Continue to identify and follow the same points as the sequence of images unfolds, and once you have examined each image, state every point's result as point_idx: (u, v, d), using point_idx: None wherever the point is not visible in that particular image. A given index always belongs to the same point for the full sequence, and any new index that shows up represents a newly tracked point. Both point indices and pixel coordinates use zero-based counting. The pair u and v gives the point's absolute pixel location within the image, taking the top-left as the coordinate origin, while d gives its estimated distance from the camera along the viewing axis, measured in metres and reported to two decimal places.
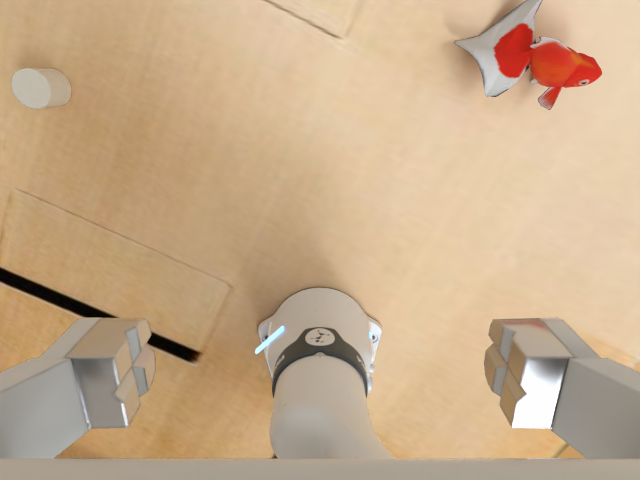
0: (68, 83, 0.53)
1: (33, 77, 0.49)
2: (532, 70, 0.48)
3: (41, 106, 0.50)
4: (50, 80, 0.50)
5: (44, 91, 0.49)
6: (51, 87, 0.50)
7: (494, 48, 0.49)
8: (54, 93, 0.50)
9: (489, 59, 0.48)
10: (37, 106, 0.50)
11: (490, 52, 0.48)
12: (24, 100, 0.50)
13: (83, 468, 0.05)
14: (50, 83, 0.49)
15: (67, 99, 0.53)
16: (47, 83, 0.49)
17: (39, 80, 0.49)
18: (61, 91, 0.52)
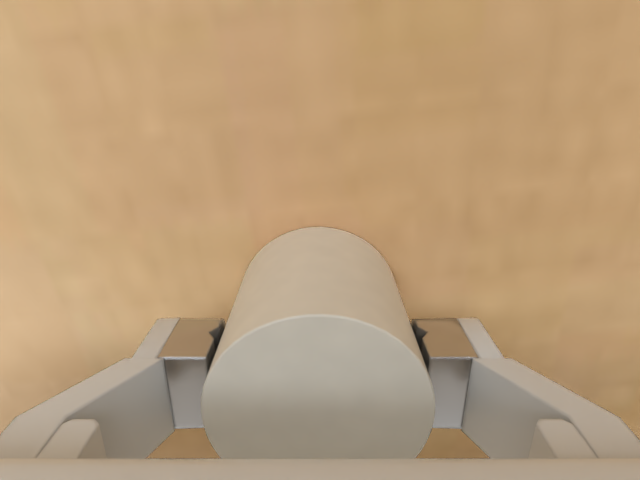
0: (258, 254, 0.11)
1: (247, 423, 0.08)
2: None
3: (387, 341, 0.07)
4: (222, 339, 0.08)
5: (284, 356, 0.08)
6: (243, 326, 0.08)
7: None
8: (278, 298, 0.08)
9: None
10: (401, 359, 0.08)
11: None
12: (405, 425, 0.08)
13: (83, 468, 0.05)
14: (228, 338, 0.08)
15: (327, 233, 0.11)
16: (227, 354, 0.08)
17: (242, 395, 0.08)
18: (279, 268, 0.09)
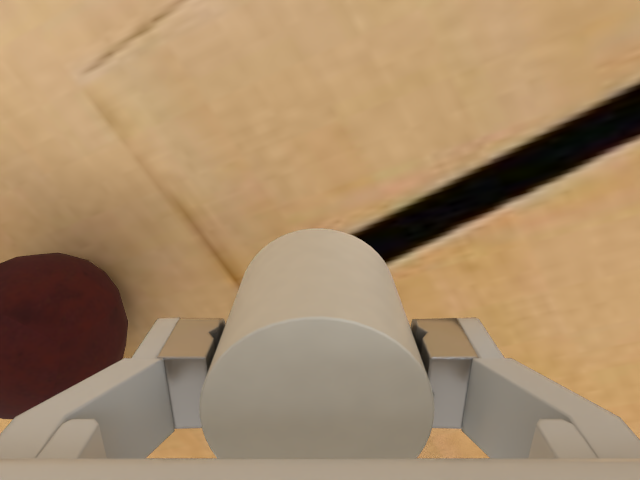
0: (257, 256, 0.11)
1: (246, 426, 0.08)
2: None
3: (387, 343, 0.07)
4: (221, 341, 0.08)
5: (283, 359, 0.08)
6: (243, 329, 0.08)
7: None
8: (276, 300, 0.08)
9: None
10: (400, 362, 0.08)
11: None
12: (404, 428, 0.08)
13: (83, 467, 0.05)
14: (226, 340, 0.08)
15: (326, 235, 0.11)
16: (225, 356, 0.08)
17: (241, 397, 0.08)
18: (278, 270, 0.09)
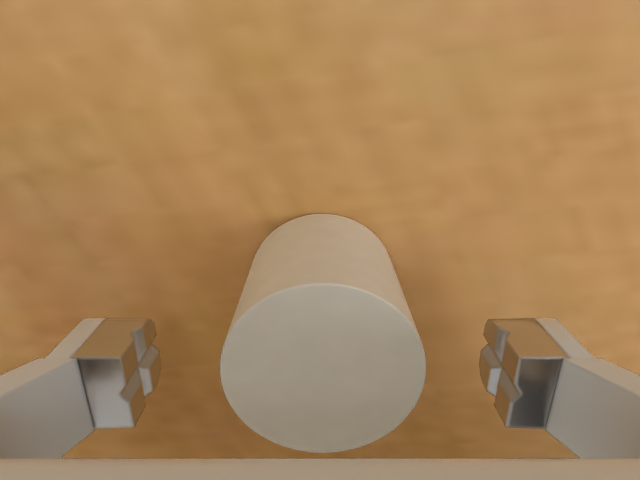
0: (267, 239, 0.12)
1: (260, 382, 0.09)
2: None
3: (384, 307, 0.09)
4: (238, 309, 0.09)
5: (294, 321, 0.09)
6: (258, 295, 0.09)
7: None
8: (287, 271, 0.09)
9: None
10: (395, 324, 0.09)
11: None
12: (400, 384, 0.09)
13: (83, 468, 0.05)
14: (243, 306, 0.09)
15: (330, 219, 0.12)
16: (243, 318, 0.09)
17: (256, 356, 0.09)
18: (287, 248, 0.11)
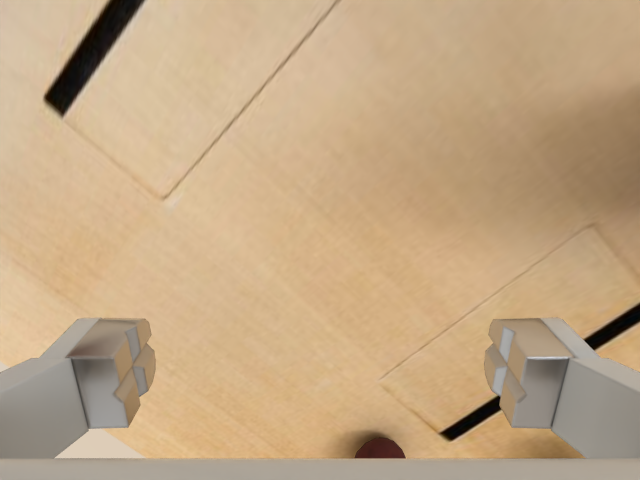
0: None
1: None
2: None
3: None
4: None
5: None
6: None
7: None
8: None
9: None
10: None
11: None
12: None
13: (83, 468, 0.05)
14: None
15: None
16: None
17: None
18: None
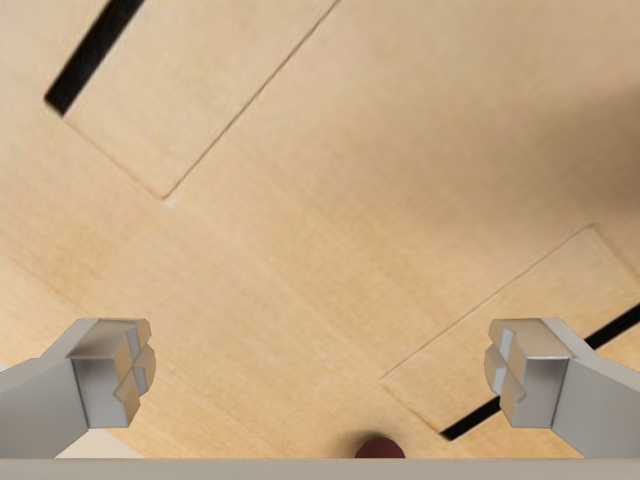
0: None
1: None
2: None
3: None
4: None
5: None
6: None
7: None
8: None
9: None
10: None
11: None
12: None
13: (83, 468, 0.05)
14: None
15: None
16: None
17: None
18: None
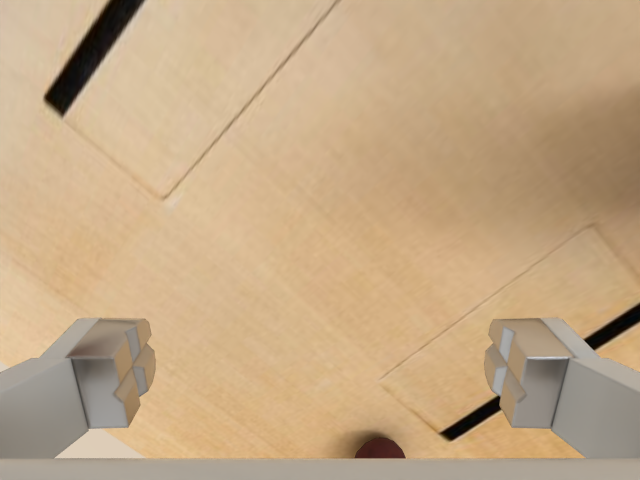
0: None
1: None
2: None
3: None
4: None
5: None
6: None
7: None
8: None
9: None
10: None
11: None
12: None
13: (83, 468, 0.05)
14: None
15: None
16: None
17: None
18: None
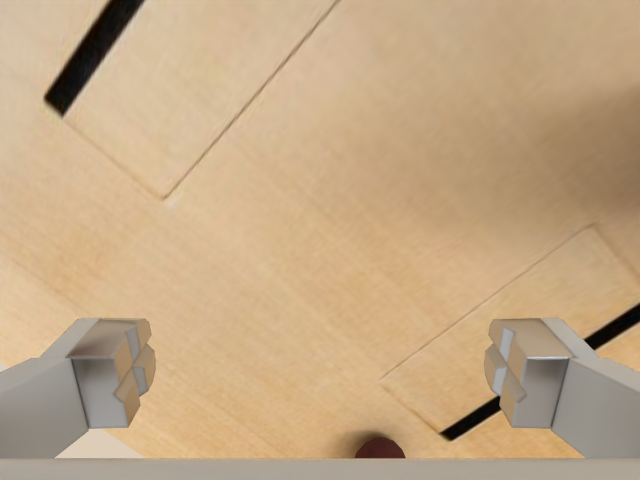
0: None
1: None
2: None
3: None
4: None
5: None
6: None
7: None
8: None
9: None
10: None
11: None
12: None
13: (83, 468, 0.05)
14: None
15: None
16: None
17: None
18: None
